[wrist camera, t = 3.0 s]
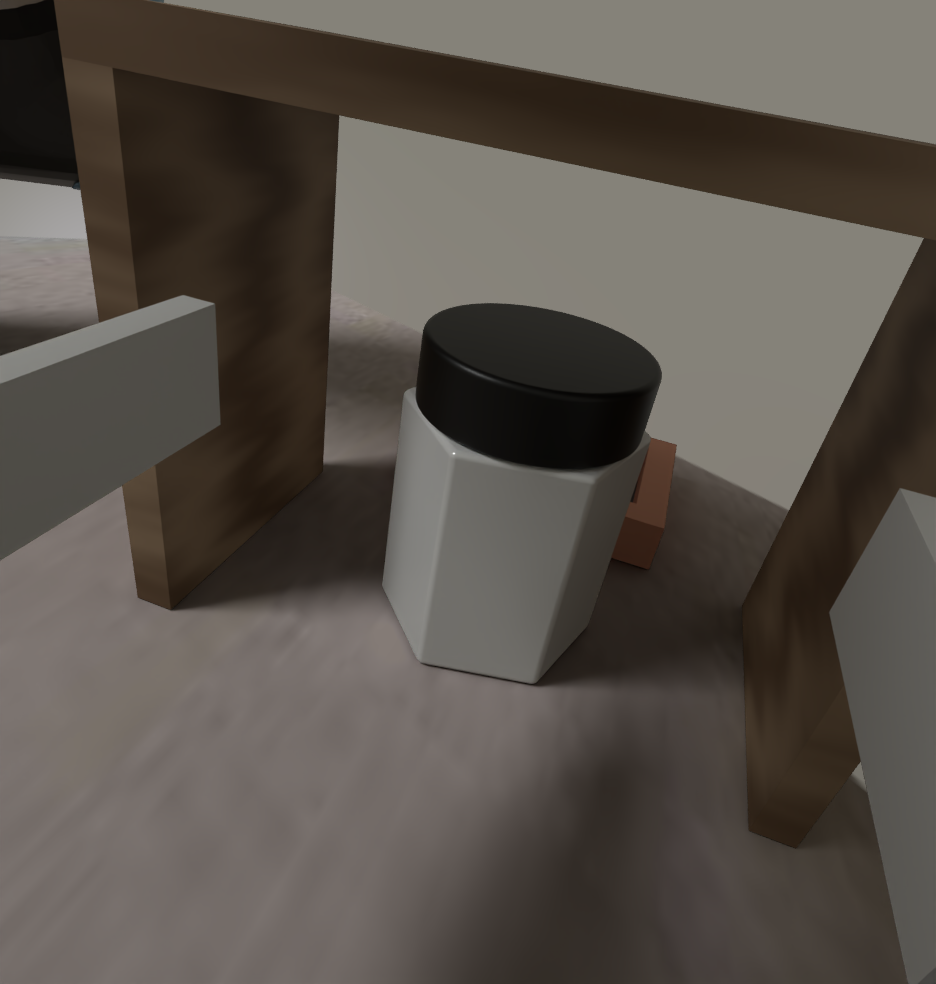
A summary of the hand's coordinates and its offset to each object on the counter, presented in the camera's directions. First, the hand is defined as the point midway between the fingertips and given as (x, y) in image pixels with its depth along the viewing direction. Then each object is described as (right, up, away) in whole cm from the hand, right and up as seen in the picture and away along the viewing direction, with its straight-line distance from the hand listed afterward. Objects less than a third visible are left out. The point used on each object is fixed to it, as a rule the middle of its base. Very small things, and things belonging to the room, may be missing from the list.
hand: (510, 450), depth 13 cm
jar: (0, -6, +16) cm, 17 cm away
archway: (0, -6, +16) cm, 17 cm away
